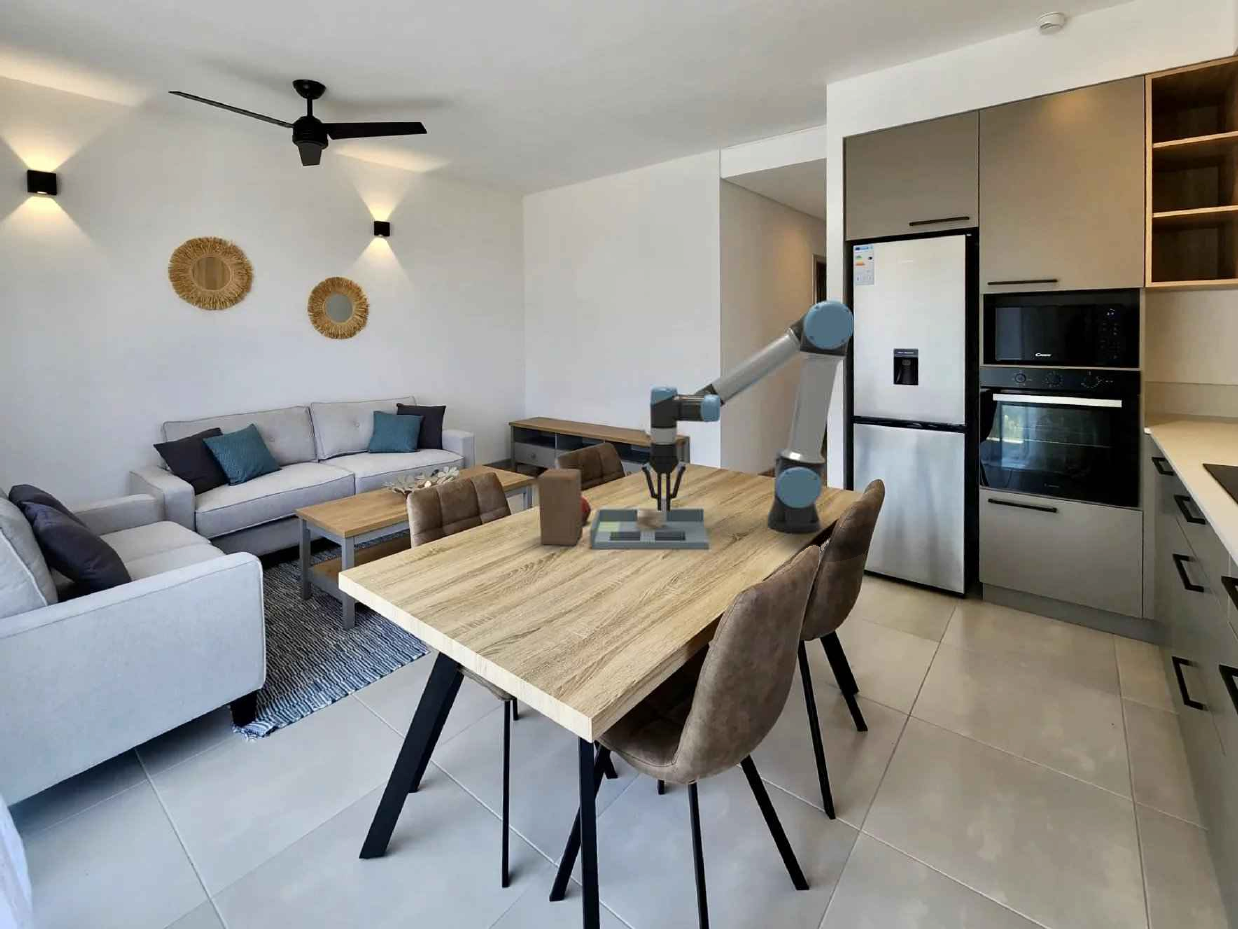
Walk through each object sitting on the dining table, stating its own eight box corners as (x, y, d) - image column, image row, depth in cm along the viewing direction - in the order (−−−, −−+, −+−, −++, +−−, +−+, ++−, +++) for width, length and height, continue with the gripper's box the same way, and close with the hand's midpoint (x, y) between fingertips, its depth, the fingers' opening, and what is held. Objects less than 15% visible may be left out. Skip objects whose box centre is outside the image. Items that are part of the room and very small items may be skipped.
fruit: (586, 517, 193) (585, 487, 191) (594, 525, 185) (593, 494, 183) (558, 520, 191) (557, 489, 189) (565, 529, 182) (564, 497, 180)
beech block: (661, 522, 180) (661, 509, 179) (661, 530, 173) (661, 516, 172) (637, 522, 180) (637, 509, 179) (637, 529, 173) (637, 516, 172)
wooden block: (574, 546, 166) (571, 476, 162) (540, 545, 168) (536, 475, 164) (583, 535, 176) (581, 468, 172) (550, 533, 178) (547, 467, 174)
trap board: (702, 526, 182) (703, 508, 181) (708, 549, 162) (708, 529, 161) (597, 526, 184) (597, 508, 183) (590, 548, 164) (590, 529, 163)
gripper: (686, 439, 174) (685, 517, 179) (641, 439, 175) (641, 517, 180) (687, 443, 167) (686, 525, 172) (640, 444, 168) (641, 525, 173)
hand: (663, 521), depth 176 cm, fingers closed
